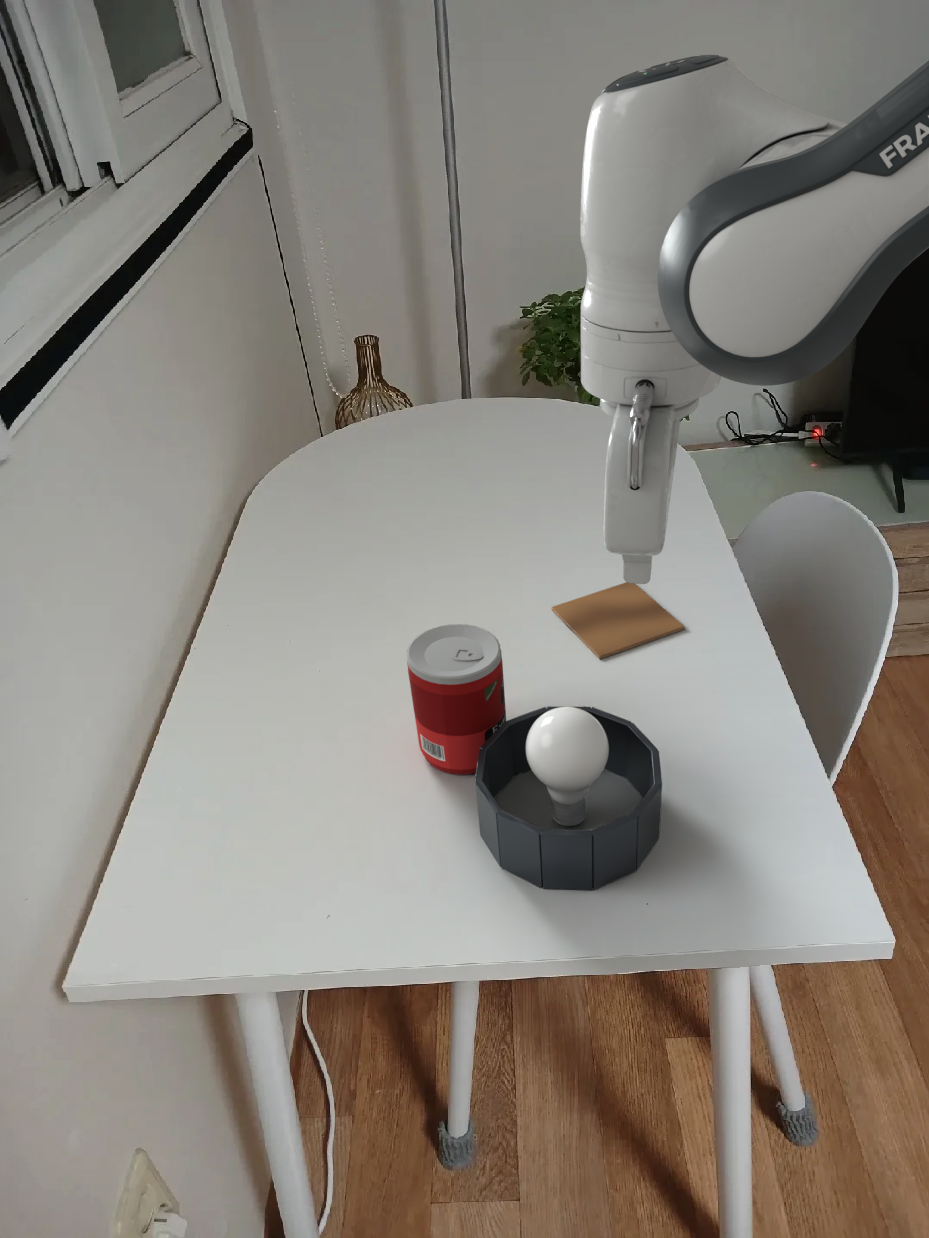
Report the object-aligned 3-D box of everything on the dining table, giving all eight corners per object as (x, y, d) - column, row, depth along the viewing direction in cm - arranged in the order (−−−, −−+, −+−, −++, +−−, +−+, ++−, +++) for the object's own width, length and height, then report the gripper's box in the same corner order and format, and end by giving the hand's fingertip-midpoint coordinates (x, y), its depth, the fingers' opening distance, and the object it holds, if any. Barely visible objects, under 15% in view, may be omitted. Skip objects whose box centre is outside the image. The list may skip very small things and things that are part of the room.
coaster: (684, 629, 97) (684, 626, 97) (599, 659, 94) (599, 656, 94) (631, 583, 105) (631, 580, 105) (551, 609, 102) (551, 606, 102)
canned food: (508, 775, 82) (501, 676, 76) (416, 779, 83) (402, 680, 76) (507, 717, 88) (501, 620, 82) (422, 720, 89) (409, 624, 83)
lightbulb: (604, 789, 80) (605, 688, 74) (611, 848, 75) (613, 744, 68) (528, 792, 80) (522, 691, 74) (530, 850, 75) (524, 747, 69)
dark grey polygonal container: (693, 846, 74) (698, 792, 71) (531, 917, 70) (528, 862, 66) (599, 738, 85) (599, 686, 82) (454, 794, 81) (448, 741, 77)
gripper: (695, 424, 51) (680, 630, 59) (707, 304, 67) (694, 479, 75) (578, 421, 53) (579, 623, 61) (617, 304, 69) (614, 476, 77)
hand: (643, 542), depth 68 cm, fingers open, 8 cm apart
